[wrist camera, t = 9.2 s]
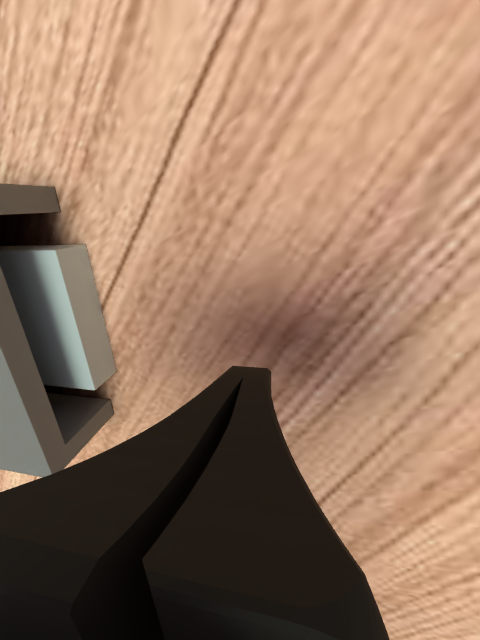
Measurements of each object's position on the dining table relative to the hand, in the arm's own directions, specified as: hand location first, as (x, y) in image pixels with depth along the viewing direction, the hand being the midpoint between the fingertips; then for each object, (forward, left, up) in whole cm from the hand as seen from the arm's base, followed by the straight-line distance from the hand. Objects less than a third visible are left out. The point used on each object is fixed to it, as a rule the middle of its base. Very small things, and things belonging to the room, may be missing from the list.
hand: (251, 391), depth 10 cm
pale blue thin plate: (0, +14, -6) cm, 16 cm away
